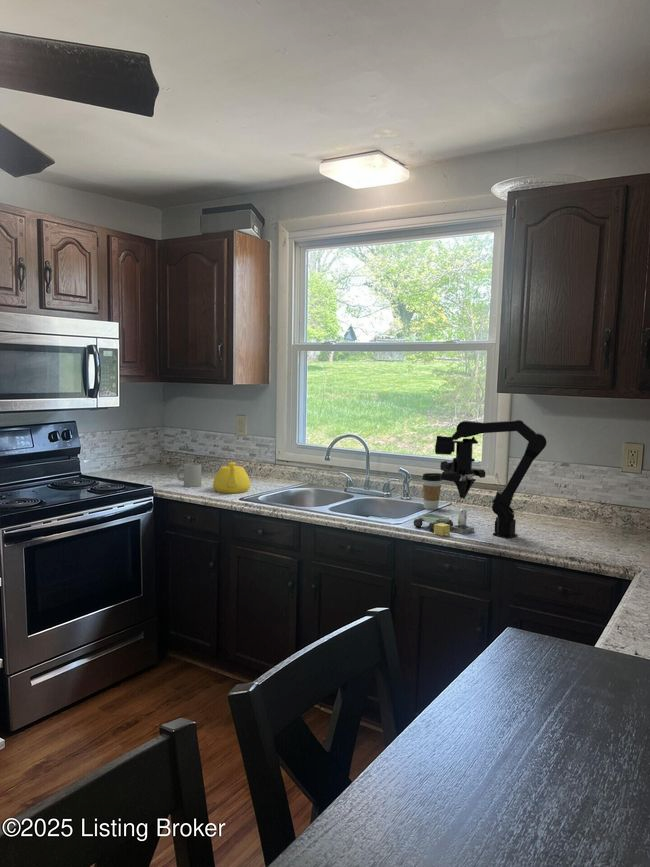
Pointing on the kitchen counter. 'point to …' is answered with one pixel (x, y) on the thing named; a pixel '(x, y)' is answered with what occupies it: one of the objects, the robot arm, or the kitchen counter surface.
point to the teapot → (231, 479)
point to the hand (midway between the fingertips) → (462, 498)
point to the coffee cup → (431, 490)
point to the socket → (460, 530)
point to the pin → (462, 518)
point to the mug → (191, 474)
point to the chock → (441, 529)
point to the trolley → (432, 520)
